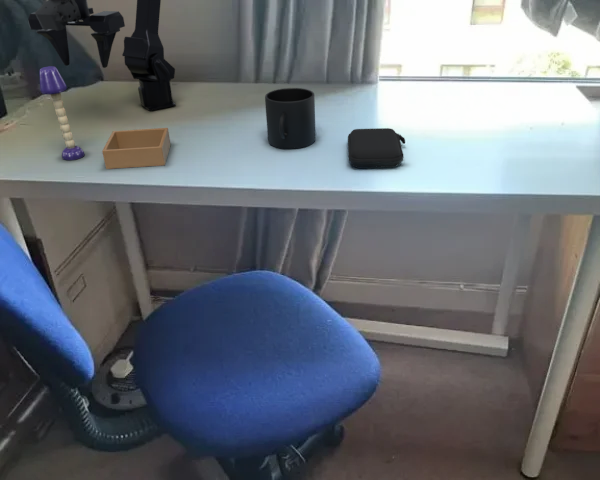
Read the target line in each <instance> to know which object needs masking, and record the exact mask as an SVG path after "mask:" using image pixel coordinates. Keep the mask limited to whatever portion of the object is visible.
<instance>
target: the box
mask: <svg viewBox="0 0 600 480" xmlns="http://www.w3.org/2000/svg"><path fill="white" fill-rule="evenodd" d="M169 131H170V130H169V127H159V128H158V127H156V128H155V127H154V128H142V129H141V128H139V129H124V130H112V131H111V134H110V135H109V136H108V139H107V140H106V143H105V145H104V147H103V148H102V151H101V152H102V156H103V161H104V165H105V169H106V170H113V169H114V170H115V169H128V168H131V169H132V168H144V167H145V168H147V167H159V166H160V167H162V166H166V162H167V159H168V156H169V152H170V149H171V145H172V143H171V138H170V132H169Z"/></svg>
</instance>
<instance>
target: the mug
mask: <svg viewBox="0 0 600 480" xmlns="http://www.w3.org/2000/svg"><path fill="white" fill-rule="evenodd" d="M315 99H316V98H315V93H314V92H313V91H312V90H311V89H307V88H302V87H301V88H300V87H285V88H278V89H274V90H271V91H269V92H267V93H266V94H265V95H264V104H265V105H264V107H265V119H266V133H267V141H268V144H269V145H270V146H272V147H274V148H278V149H284V150H285V149H286V150H291V149H292V150H293V149H301V148H305V147H309V146H311V145H312V144H314V143H315V141H316V137H317V136H316V134H317V133H316V103H315V102H316V101H315Z"/></svg>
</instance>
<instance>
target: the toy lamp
mask: <svg viewBox="0 0 600 480" xmlns="http://www.w3.org/2000/svg"><path fill="white" fill-rule="evenodd" d="M38 74H39V90H40V91H39V92H40V93H41V94H43V95H48V96H49V95H50V98H51V99H52V105H53V107H54V108H55V109H54V110H55V111H54V112H55V114H56V116H57V122H58V124H59V128H60V131H61V132H62V139H63V140H64V144H65V146H66V147H65V148H63V150H62V152H61V158H62V159H63V160H64V161H76V160H79V159H83V157H84V156H85V151H84V149H83V148H82V147H80V146H78V145H76V142H75V140H74V135H73V133H72V131H71V125H70V124H69V119H68V116H67V111H66V109H65V107H64V101H63V100H62V94H61V93H63V92H65V91H67V89H68V87H67V84H66V82H65V80H64V78H63V76H62V75H61V73H60V71H59V70H58V68H57V67H56V66H53V65H52V66H51V65H49V66H43V67H41V68H40V69H39V73H38Z"/></svg>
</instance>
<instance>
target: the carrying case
mask: <svg viewBox="0 0 600 480" xmlns="http://www.w3.org/2000/svg"><path fill="white" fill-rule="evenodd" d="M404 144H406V139H405V137H404V136H403V135H401V134H400V133H397V132H396V131H395V129H393V128H389V127H387V128H386V127H385V128H384V127H381V128H378V127H377V128H355V129H352V131H351V132H350V133H348V136H347V153H348V154H347V155H348V162H349V164H351V166H353V167H354V168H357V169H367V168H370V169H371V168H373V169H375V168H376V169H377V168H395V167H397V166H399V165H400V163H402V162H403V161H404V153H403V147H402V145H404Z"/></svg>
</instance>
